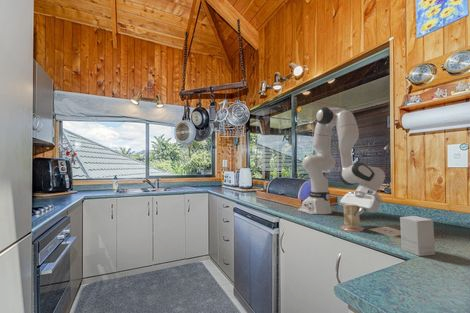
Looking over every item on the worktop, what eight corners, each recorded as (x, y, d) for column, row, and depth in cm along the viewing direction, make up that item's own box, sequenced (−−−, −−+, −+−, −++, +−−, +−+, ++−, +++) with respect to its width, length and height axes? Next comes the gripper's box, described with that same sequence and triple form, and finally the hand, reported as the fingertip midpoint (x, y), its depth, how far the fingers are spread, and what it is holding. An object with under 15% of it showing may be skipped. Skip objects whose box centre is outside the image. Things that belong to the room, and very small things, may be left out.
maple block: (344, 223, 118) (343, 204, 119) (351, 222, 120) (350, 203, 120) (352, 226, 114) (351, 206, 114) (359, 225, 115) (358, 205, 116)
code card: (368, 229, 115) (368, 229, 115) (385, 226, 119) (385, 226, 119) (391, 236, 104) (391, 236, 104) (409, 233, 108) (409, 233, 108)
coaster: (337, 228, 118) (337, 227, 118) (347, 225, 124) (347, 224, 124) (357, 233, 110) (357, 232, 110) (367, 229, 116) (367, 228, 116)
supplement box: (436, 254, 84) (434, 219, 84) (418, 256, 82) (417, 221, 83) (416, 247, 91) (415, 215, 91) (400, 249, 90) (399, 216, 90)
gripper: (345, 188, 129) (331, 207, 126) (378, 192, 110) (364, 214, 107) (351, 195, 131) (338, 214, 127) (385, 200, 112) (371, 223, 108)
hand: (350, 214), depth 117 cm, fingers closed on maple block, 5 cm apart
